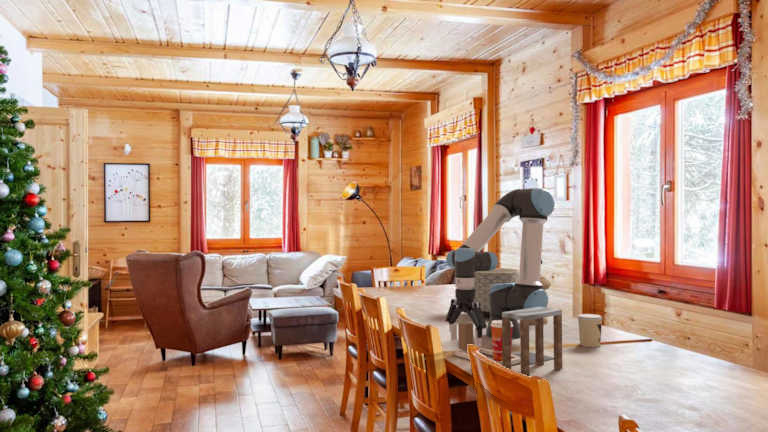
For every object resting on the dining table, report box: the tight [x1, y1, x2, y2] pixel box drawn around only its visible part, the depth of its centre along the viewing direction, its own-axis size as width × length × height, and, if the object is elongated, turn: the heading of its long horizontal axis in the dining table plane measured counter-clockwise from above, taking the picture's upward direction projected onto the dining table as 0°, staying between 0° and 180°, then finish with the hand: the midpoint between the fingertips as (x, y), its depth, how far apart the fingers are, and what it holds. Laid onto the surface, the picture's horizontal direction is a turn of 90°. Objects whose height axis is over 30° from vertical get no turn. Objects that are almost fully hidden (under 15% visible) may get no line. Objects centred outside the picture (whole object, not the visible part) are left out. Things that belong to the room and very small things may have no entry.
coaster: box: [513, 351, 554, 366], centre depth 222 cm, size 13×13×1 cm
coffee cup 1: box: [490, 320, 513, 362], centre depth 215 cm, size 8×8×15 cm
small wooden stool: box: [502, 307, 563, 376], centre depth 204 cm, size 10×19×20 cm, turn 126°
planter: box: [473, 267, 520, 318], centre depth 314 cm, size 25×25×24 cm
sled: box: [452, 321, 521, 366], centre depth 222 cm, size 25×12×12 cm, turn 36°
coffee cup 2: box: [577, 313, 603, 348], centre depth 242 cm, size 9×9×12 cm
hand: (465, 343), depth 231 cm, fingers open, 13 cm apart
